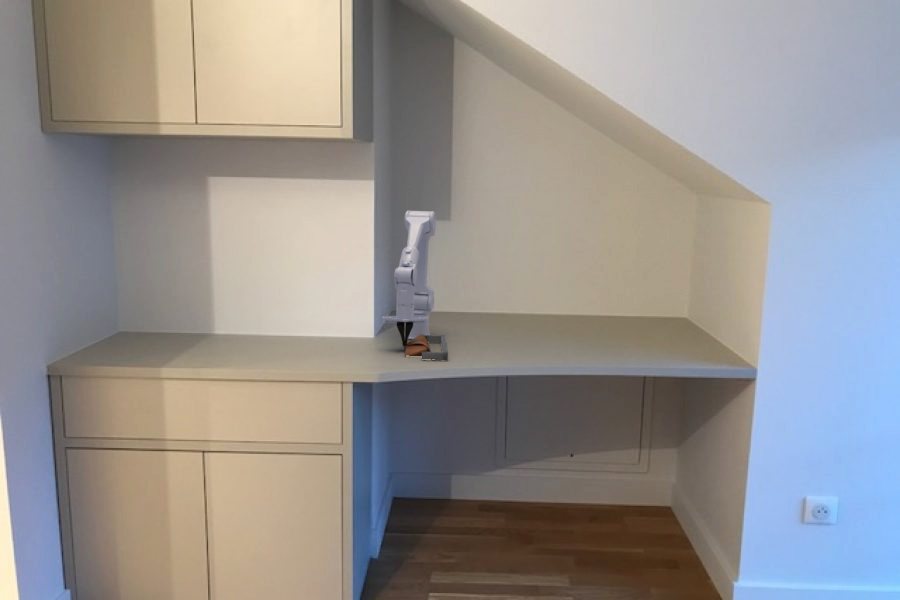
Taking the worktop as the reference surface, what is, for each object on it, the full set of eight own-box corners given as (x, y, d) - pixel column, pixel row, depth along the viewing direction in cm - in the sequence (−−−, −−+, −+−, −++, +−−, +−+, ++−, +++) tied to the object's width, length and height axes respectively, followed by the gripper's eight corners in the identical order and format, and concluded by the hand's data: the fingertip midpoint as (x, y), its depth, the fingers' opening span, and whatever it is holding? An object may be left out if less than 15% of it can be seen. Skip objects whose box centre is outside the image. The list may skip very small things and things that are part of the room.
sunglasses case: (400, 343, 237) (411, 327, 236) (418, 354, 239) (428, 337, 238) (404, 357, 220) (415, 340, 219) (423, 368, 221) (434, 351, 220)
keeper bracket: (421, 342, 240) (421, 334, 240) (444, 342, 241) (444, 335, 240) (421, 360, 217) (421, 352, 216) (447, 361, 217) (447, 353, 217)
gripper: (381, 305, 221) (381, 347, 224) (428, 306, 222) (427, 348, 224) (383, 301, 228) (382, 342, 231) (427, 302, 229) (427, 343, 231)
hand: (404, 345), depth 228 cm, fingers closed
